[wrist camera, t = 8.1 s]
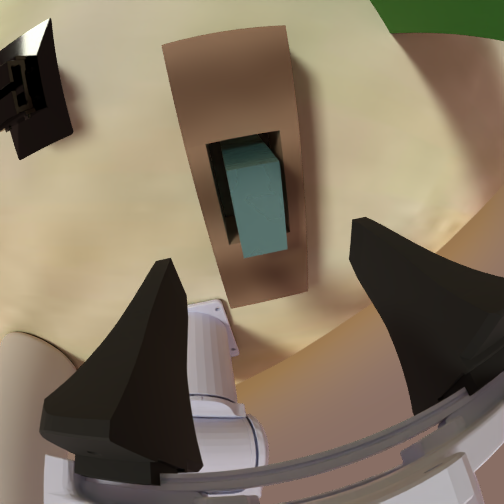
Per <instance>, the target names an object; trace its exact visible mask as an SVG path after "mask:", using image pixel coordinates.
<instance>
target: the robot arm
mask: <svg viewBox="0 0 504 504" xmlns="http://www.w3.org/2000/svg"><path fill="white" fill-rule="evenodd" d="M349 260H350V262H351V265H352V267H353V269H354V271H355V274H356V276H357V278H358V280H359V281H360V283H361V285H362V286H363V288H364V290H365V291H366V293H367V295H368V296H369V298H370V300H371V301H372V303H373V304H374V306H375V308H376V309H377V311H378V313H379V314H380V316H381V318H382V320H383V321H384V323H385V325H386V327H387V329H388V331H389V334H390V337H391V339H392V341H393V344H394V346H395V349H396V352H397V354H398V357H399V360H400V363H401V366H402V369H403V372H404V376H405V379H406V383H407V387H408V391H409V395H410V400H411V404H412V410H413V414H414V416H413V417H411V418H409V419H407V420H405V421H403V422H401V423H399V424H397V425H394V426H392V427H390V428H388V429H385V430H383V431H381V432H378V433H376V434H373V435H371V436H368V437H366V438H363V439H361V440H358V441H355V442H352V443H349V444H346V445H343V446H340V447H337V448H334V449H331V450H328V451H324V452H321V453H317V454H314V455H310V456H306V457H302V458H298V459H294V460H290V461H285V462H280V463H276V464H270V465H268V460H269V446H268V440H267V436H266V433H265V431H264V428H263V426H262V425H261V423H260V422H258V420H257V419H256V418H255V417H254V416H253V415H251V414H246V412H245V406H244V404H238V403H237V394H236V388H235V381H234V374H233V367H232V360H231V357H233V356H238V355H239V349H238V346H237V343H236V341H235V338H234V335H233V332H232V330H231V327H230V324H229V321H228V318H227V315H226V312H225V309H224V307H223V304H222V301H221V300H218V299H215V300H210V301H205V302H200V303H195V304H190V305H187V296H186V293H185V291H184V288H183V286H182V284H181V281H180V279H179V277H178V274H177V272H176V269H175V267H174V265H173V262H172V260H171V258H168V259H163V260H159V261H156V262H155V264H154V265H153V267H152V268H151V270H150V272H149V273H148V275H147V277H146V278H145V280H144V282H143V283H142V285H141V287H140V288H139V290H138V292H137V293H136V295H135V297H134V298H133V300H132V301H131V303H130V304H129V306H128V307H127V309H126V310H125V312H124V313H123V315H122V316H121V318H120V320H119V321H118V322H117V324H116V325H115V327H114V328H113V329H112V331H111V332H110V333H109V334H108V336H107V337H106V338H105V340H104V341H103V342H102V343H101V345H100V346H99V347H98V348H97V349H96V350H95V351H94V352H93V354H92V355H91V356H90V357H89V358H88V359H87V361H86V362H85V363H84V364H83V365H82V366H81V367H80V368H79V369H78V370H77V371H76V372H75V373H74V374H73V375H72V376H71V377H70V378H69V379H67V380H66V381H65V382H64V383H63V384H62V385H61V386H59V387H58V388H57V389H56V390H55V391H53V392H52V393H51V394H50V395H49V396H47V397H46V398H45V399H44V403H43V409H42V414H41V420H40V427H39V433H40V434H41V436H42V437H43V438H44V439H46V440H47V441H49V442H51V443H53V444H54V445H56V446H58V447H61V448H63V449H65V450H67V451H69V452H71V453H73V454H75V461H73V460H70V459H66V458H62V457H58V456H54V455H50V454H46V455H45V466H44V504H260V503H259V498H260V497H261V495H262V489H263V486H268V485H274V484H279V483H284V482H289V481H293V480H298V479H302V478H306V477H310V476H314V475H317V474H321V473H325V472H328V471H331V470H334V469H337V468H341V467H344V466H347V465H350V464H352V463H355V462H358V461H361V460H363V459H366V458H368V457H371V456H373V455H376V454H378V453H381V452H383V451H385V450H387V449H390V448H392V447H394V446H396V445H399V444H400V443H403V442H405V441H407V440H409V439H411V438H413V437H415V436H417V435H419V434H420V433H422V432H424V431H426V430H428V429H430V428H431V427H433V426H435V425H436V424H438V423H439V425H438V429H437V430H436V431H434V432H432V433H431V434H429V435H427V436H425V437H424V438H422V439H420V440H419V441H418V442H416V443H415V444H413V445H411V446H410V447H408V448H406V449H404V450H402V451H401V453H400V454H401V457H402V460H403V463H402V464H400V465H398V466H396V467H393V468H392V469H389V470H387V471H384V472H382V473H380V474H378V475H375V476H372V477H370V478H367V479H365V480H362V481H359V482H356V483H354V484H351V485H348V486H345V487H342V488H339V489H336V490H332V491H329V492H325V493H322V494H318V495H314V496H311V497H307V498H303V499H298V500H294V501H289V502H285V503H280V504H485V503H484V499H483V496H482V493H481V489H480V486H479V483H478V480H477V477H476V474H475V471H476V470H477V469H478V468H479V467H480V466H481V465H482V464H484V463H485V461H487V460H488V458H490V457H491V456H492V454H493V453H495V451H496V450H497V449H498V448H499V447H500V446H501V445H502V444H503V443H504V278H503V277H498V276H495V275H491V274H488V273H484V272H481V271H477V270H474V269H471V268H469V267H466V266H463V265H460V264H458V263H456V262H453V261H451V260H448V259H446V258H444V257H442V256H439V255H437V254H435V253H433V252H431V251H429V250H427V249H425V248H423V247H421V246H419V245H417V244H415V243H414V242H412V241H410V240H408V239H406V238H404V237H403V236H401V235H399V234H397V233H395V232H394V231H392V230H390V229H388V228H386V227H385V226H383V225H381V224H379V223H377V222H375V221H373V220H371V219H369V218H367V217H363V218H358V219H353V220H352V231H351V244H350V255H349Z"/></svg>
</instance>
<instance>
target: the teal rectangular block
mask: <svg viewBox="0 0 504 504" xmlns="http://www.w3.org/2000/svg"><path fill="white" fill-rule="evenodd" d="M220 145H221V150H222V155H223V161H224V166H225V171H226V176H227V181H228V186H229V191H230V196H231V201H232V206H233V210H234V215H235V220H236V224H237V229H238V233H239V238H240V243H241V247H242V252H243V256H244V258H248V257H253V256H258V255H262V254H267V253H272V252H277V251H281V250H286V249H287V236H286V225H285V213H284V202H283V192H282V182H281V172H280V163H279V160H278V159H277V158H276V157H275V155H274V154H273V153H272V152H271V150H270V149H269V148H268V147H267V145H266V144H265V143H264V142H263V141H262V139H261V138H260V137H259V136H258V135H257V134H253V135H248V136H242V137H237V138H232V139H227V140H222V141H220Z"/></svg>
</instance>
